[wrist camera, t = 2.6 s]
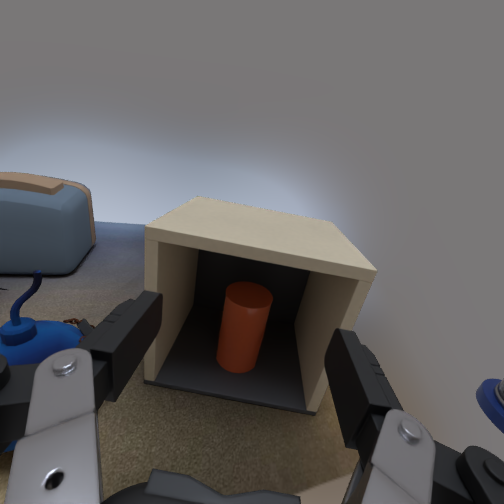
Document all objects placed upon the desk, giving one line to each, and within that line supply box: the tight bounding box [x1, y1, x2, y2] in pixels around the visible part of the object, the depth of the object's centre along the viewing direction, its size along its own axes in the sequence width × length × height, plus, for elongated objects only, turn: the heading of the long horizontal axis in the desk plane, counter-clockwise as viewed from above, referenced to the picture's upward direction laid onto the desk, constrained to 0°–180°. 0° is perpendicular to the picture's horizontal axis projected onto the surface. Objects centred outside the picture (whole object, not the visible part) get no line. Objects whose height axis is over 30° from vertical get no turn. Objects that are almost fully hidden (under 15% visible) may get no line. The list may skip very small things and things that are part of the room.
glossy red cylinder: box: [216, 281, 273, 373], centre depth 31 cm, size 6×6×10 cm
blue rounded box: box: [0, 172, 96, 275], centre depth 44 cm, size 16×16×16 cm
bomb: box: [0, 270, 95, 452], centre depth 20 cm, size 10×11×15 cm
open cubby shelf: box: [144, 196, 377, 416], centre depth 31 cm, size 20×16×19 cm
